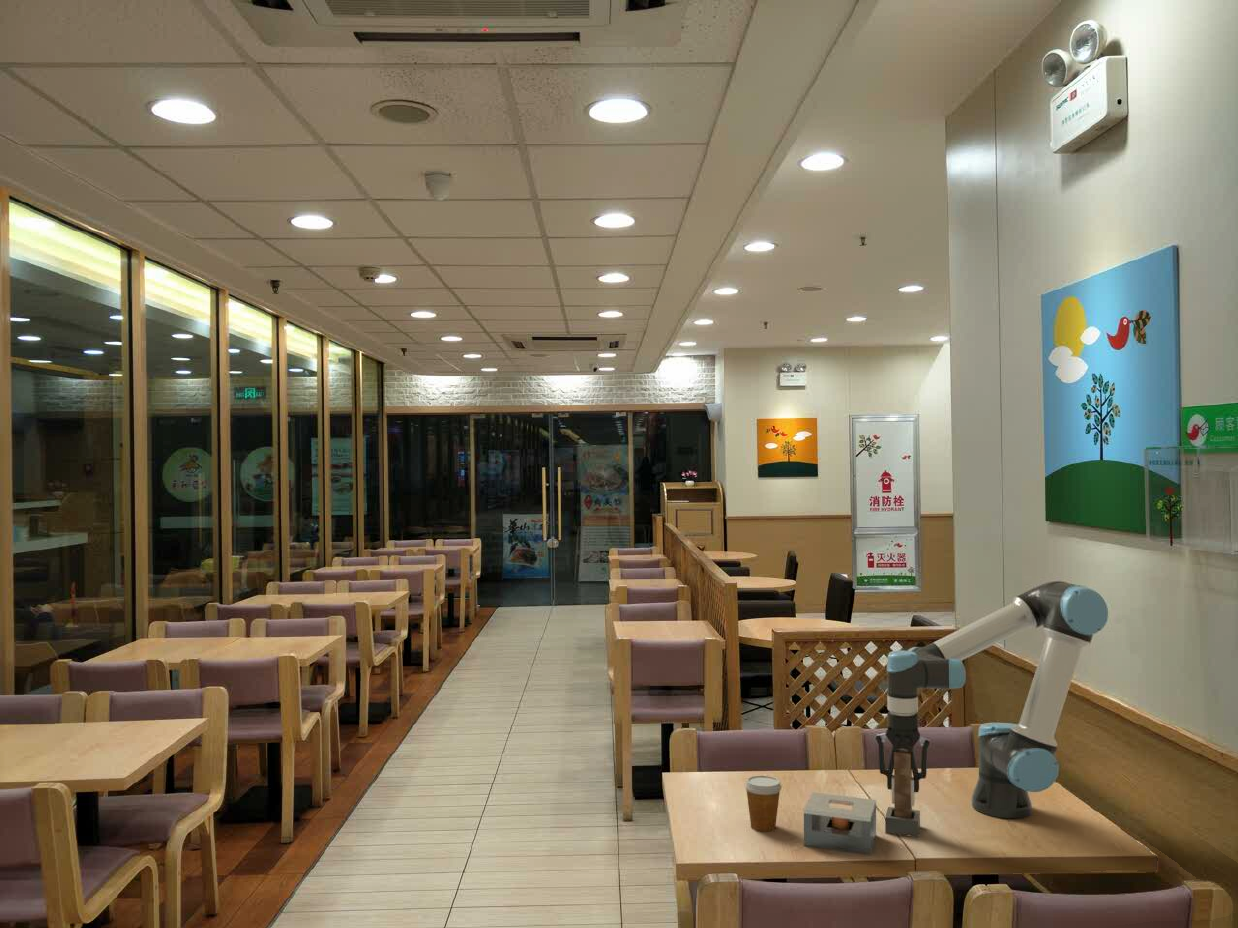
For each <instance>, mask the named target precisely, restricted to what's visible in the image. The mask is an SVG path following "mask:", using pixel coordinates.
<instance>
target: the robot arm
mask: <svg viewBox="0 0 1238 928" xmlns="http://www.w3.org/2000/svg"><path fill="white" fill-rule="evenodd" d="M1108 619H1109V609H1108V605H1107V602H1105V600H1104V597H1103V596H1102V595H1101V594H1099V592H1097V591H1096V590H1093V589H1092V588H1089V587H1087V586H1085V585H1080V584H1075V583H1074V584H1073V583H1069V582H1066V581H1060V580H1055V581H1048V582H1045V583H1042V584H1040V585H1038V586H1035V587H1033V588H1031V589H1029V590H1026V591H1025V592H1022V593H1021V594H1019V595H1017V596H1015V597H1013V600H1012V603H1009V604H1007V605H1005V606H1004V607H1002V608H999V609H997V610H996V611H993V612H992V613H990V614H987V615H986V616H984V617H982V618H979V619H978V620H976V621H973V622H972V623H968V625H966V626H964V627H962V628H960V629H957V630H955V631H954V632H952V633H950V634H947V635H946V636H944V637H942V638H940V639H938V640H936V641H934V642H931V643H929V644H927V645H925V646H923V647H922V646H912V647H911V648H909V649H907V650H902V649H901V650H900V649H898V650H892V651H890V652H889V653H888V655H887V659H886V660H887V661H886V665H887V666H886V673H887V674H886V676H887V677H886V680H887V681H886V682H887V694H886V695H887V698H886V699H887V710H888V712H887V729H886V731H885V732H883V733H877V734H876V737H875V740H876V743H877V744H878V758H879V760H878V762H879V774H880V775H883V776H884V775H885V776H886V784H887V785H886V788H887V790H891V804H893V805H894V774H893V773H894V752H897V750H898V749H905V750H907V751H908V753H911V768H912V777H911V806H912V807H914V806H915V803H916V802H915V795H916V794H915V793H919V792H920V791H919V790H920V780H921V779H926V777H927V769H928V768H927V767H928V748H929V745H930V744H931V739H930V738H929V737H924V736H923V735H922V736H921V733H920V731H919V715H918V711H919V694H918V692H919V690H940V689H941V690H952V689H960V688H963V686H964V685H965V683H966V680H967V679H966V677H967V675H966V673H967V672H966V668H965V665H964V663H963V660H965V659H967V658H970V657H972V656H973V655H976V654H977V653H980V652H982V651H984V650H986V649H988V648H990V647H992V646H994V645H996V644H998V643H1000V642H1002V641H1004V640H1007V639H1008V638H1010V637H1012V636H1014V635H1016V634H1018V633H1020V632H1022V631H1024V630H1026V629H1031V630H1035V629H1037V628H1039V627H1041V626H1042V629H1043V632H1044V633H1045V635H1046V638H1045V641H1044V644H1043V647H1042V650H1041V652H1040V657H1039V660H1038V661H1037V663H1038V664H1037V666H1036V669H1035V673H1034V675H1033V678H1032V682H1031V684H1030V688H1029V691H1028V694H1027V697H1026V700H1025V704H1024V706H1023V710H1022V713H1021V715H1020V720H1019V722H1018V723H1010V722H985V723H983V724H981V725H980V726H979V727H978V735H977V738H978V741H977V742H978V746H977V748H978V752H977V753H978V779H977V782H976V785H975V787H974V790H973V792H972V796H971V807H972V808H973V809H974V810H976V812H977V811H978V812H980V813H982V814H984V815H987V816H992V817H997V818H1002V819H1022V818H1026V817H1030V816H1031V815H1032V811H1033V810H1032V808H1033V807H1032V802H1031V797H1030V796H1029V793H1039V792H1043V791H1045V790H1047V789H1049V788H1050V787H1051V786H1052V785H1053V784H1054V783H1055V782H1056V780H1057V778H1058V775H1059V771H1060V770H1059V769H1060V768H1059V763H1058V760H1057V759H1056V757H1055V755H1056V753H1057V749H1058V743H1057V740H1056V739H1055V734H1056V731H1057V727H1058V724H1059V721H1060V717H1061V715H1062V711H1063V708H1064V705H1065V702H1066V699H1067V696H1068V693H1069V690H1070V686H1071V683H1072V680H1073V677H1074V673H1075V671H1076V668H1077V665H1078V661H1079V659H1080V658H1079V657H1080V654H1081V651H1082V649H1083V648H1084V647H1086V646H1088V645H1090V644H1091V642H1092V639H1093V637H1094V635H1095V634H1097V633H1098V632H1100V631H1102V630H1103V629H1104V628H1105V626H1106V624H1107V623H1108ZM887 739H888V741H889V742H890V743H891V745H892V750H891V755H890V758H889V759H890V760H889V763H888V768H886V754H885V751H886V750H885V742H886V740H887ZM918 741H919V743H920V744H919V745H920V746H921V747H922V748H921V759H920V760H921V761H920V763H921V764H920V766H921V767H920V769H921V770H920V772H919V769H918V764H917V760H916V755H915V749H914V746H915V745H916V744H917V742H918ZM1028 792H1029V793H1028Z"/></svg>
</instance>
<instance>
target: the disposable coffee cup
mask: <svg viewBox="0 0 1238 928" xmlns="http://www.w3.org/2000/svg"><path fill="white" fill-rule="evenodd" d="M744 788H745V790H746V796H747V805H748V812H749V814H748V815H749V822H750V828H751V829H753V830H754V831H757V832H772V831H774V830H775V829H776V827H777V815H778V808H779V800H780V793H781V789H782V784H781V781H780V779H779V778H777V777H773V776H770V775H751V776H749V777H748V778H746V780H745V782H744Z"/></svg>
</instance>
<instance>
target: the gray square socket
mask: <svg viewBox="0 0 1238 928" xmlns="http://www.w3.org/2000/svg"><path fill="white" fill-rule="evenodd" d="M884 818H885V819H884V822H885V824H884V826H885V828H884V829H885V830H884V832H885V834H889V833H891V834H890V835H896V834H900V835H899V836H904V835H910V836H909V837H911V836H916V837H915V838H919V836H918V835H920V830H919V829H921V810H917V809H912V819H908V818H900V817H895V808H894V807H892V806H888V807H887V809H886V814H885V817H884Z"/></svg>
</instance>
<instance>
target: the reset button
mask: <svg viewBox="0 0 1238 928" xmlns="http://www.w3.org/2000/svg"><path fill="white" fill-rule="evenodd" d="M831 828H837V829H844V830H850V819H845V818H837V817H831Z"/></svg>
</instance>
